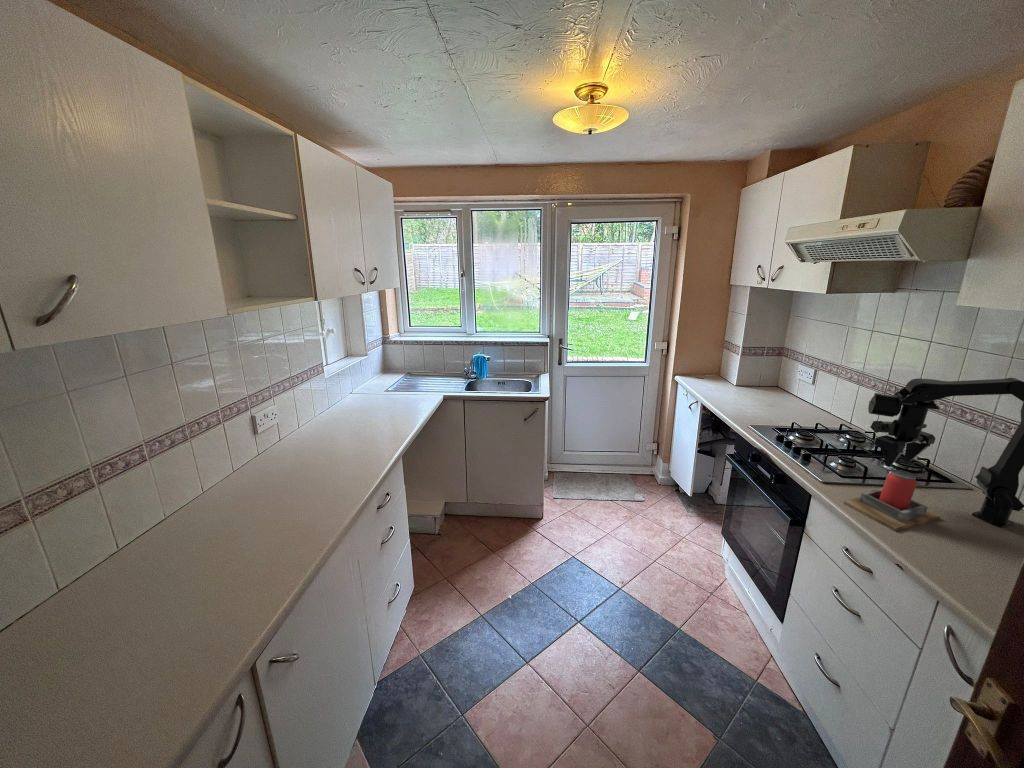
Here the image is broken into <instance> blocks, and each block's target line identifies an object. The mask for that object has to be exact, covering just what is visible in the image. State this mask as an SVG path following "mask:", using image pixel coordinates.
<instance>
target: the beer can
mask: <svg viewBox="0 0 1024 768" xmlns="http://www.w3.org/2000/svg"><path fill="white" fill-rule="evenodd" d="M916 479H917V476H915V474H913V473H911V472H909V471H906V470H902V469H892V470H890V472H889V473H888V474H887V475H886V478H885V481H884V484H883V486H882V488H883V489H882V492H881V495H880V498H879V500H880V501H882V502H884V503H887V504H889V505H891V506H893V507H895V508H897V509H899V510H901V511H903V510H907V509H908V507H909V504H910V501H911V499H912V500H913V496H914V493H915V491H916V488H917V480H916Z"/></svg>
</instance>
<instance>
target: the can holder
mask: <svg viewBox="0 0 1024 768" xmlns="http://www.w3.org/2000/svg"><path fill="white" fill-rule="evenodd" d="M882 489H883V487H881V488H878V489H872V490H869V491H865V492H864V491H863V492H861V493H860V494H861V495H860V496H859V497H855V498H851V499H847V500H846V499H845V500H844V501H843V505H845V506H847V507H849V508H851V509H853V510H855V511H856V512H857V513H860V514H862V515H864V516H866V517H868V518H870V519H872V520H873V521H875V522H877V523H879V524H881V525H883V526H885V527H886V528H888V529H890V530H892V531H894V532H897V531H900V530H901V531H902V530H904V529H908V528H911V527H914V526H917V525H922V524H925V523H928V522H932V521H935V520H939V519H940V517H941V515H939V514H937V513H935V512H933V511H931V510H929V509H928V508H929V507H928V506H926V505H924V504H922V503H920V502H918V501H915V500H913V498H912V499H911V501H910V504H909V507H908V509H907V510H903V511H901V510H899V509H897V508H895V507H893V506H891V505H889V504H887V503H884V502H882V501H880V500H879V498H880V495H881V492H882Z"/></svg>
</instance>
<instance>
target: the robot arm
mask: <svg viewBox="0 0 1024 768" xmlns="http://www.w3.org/2000/svg"><path fill="white" fill-rule="evenodd" d="M991 395H992V396H993V395H997V396H998V395H1012V396H1014V397H1015V398H1017V399H1018V400H1020V401H1021V402H1022V406H1021V408H1020V423H1019V425H1018V426H1017V428H1016V430H1015V431H1014V433H1013V434H1012V436H1011V438H1010V439H1009V441H1008V443H1007V445H1006V446H1005V448H1004V449H1003V450H1002V453H1001V454H1000V456H999V458H998V459H997V461H996V463H995V464H994V465H992V466H991V467H989V468H988V467H985V466H981V467H980V470H979V472H978V473H977V475H975V476H974V477H975V478H976V484H977V486H978V487H979V488H980V489H981V492H982V493H983V494H984V495H985V498H984V500H983V502H982V503H981V507H980V509H979V510H978V511H975V512H972V513H971V515H972V516H973V517H976V518H978V519H980V520H983V521H985V522H987V523H990V524H992V525H995V526H996V527H999V528H1004V527H1006V526H1007V527H1008V526H1010V525H1013V524H1014V521H1012V520H1010V517H1011V515H1012V513H1013V512H1014V511H1016V512H1020V511H1022V510H1023V509H1024V504H1023V502H1022V501H1021V500H1020V499H1019V498H1018V497H1017V493H1018V490H1019V487H1020V482H1019V481H1020V480H1019V479H1020V478H1019V477H1020V473H1021V471H1022V470H1023V468H1024V381H1023V380H1021V379H1019V378H1016V377H1008V378H1007V377H1006V378H995V379H994V378H992V379H974V380H952V381H949V380H940V379H934V378H933V379H930V378H919V377H917V378H913V379H911V380H909V381H908V382H907V383H906V385H905V386H904V387H902V388H901V389H899V390H898V391H896V392H895V393H894V394H893V395H890V394H889V395H888V394H883V393H878V392H875V393H874V395H873V396H872V397H871V399H870V400H869V402H868V406H867V407H868V408H867V410H868V412H867V413H868V415H869V414H870V415H875V416H876V415H877V416H884V417H890V418H894V417H897V416H898V419H894V420H893V421H882V420H873V421H872V423H871V425H870V427H869V428H870V429H871V430H872V431H873V433H875V434H878V433H886V434H884V435H880V436H876V437H875V438H874V441H873V444H874V445H876V447H878V448H880V449H881V450H882V454H883V459H884V466H886V467H888V468H890V467H892V466H893V464H895V462H896V461H897V460H898V459H899V458H900V456H902V454H903V453H904V459H903V460H904V463H905V462H906V463H910V462H911V461H913V460H914V459H915V458H917V457H918V456H919V455H920V454H922V452H924V451H925V450H926V449H928V448H929V447H931V445H933V444H935V441H936V437H935V435H934V434H932V433H929V432H926V431H922V430H923V429H925V428H927V425H928V424H925V421H926V418H927V416H928V413H929V409H932V410H940V407H939V406H938V405H937V404H936V403H935V401H937V400H942V399H946V398H949V397H961V396H968V397H969V396H991ZM904 450H905V451H904Z"/></svg>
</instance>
